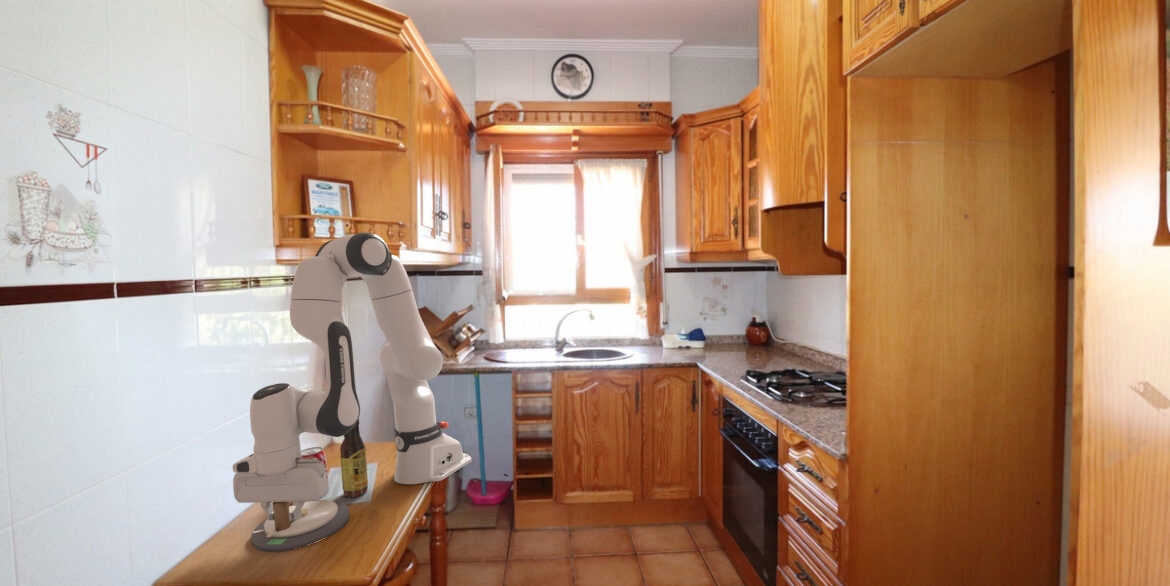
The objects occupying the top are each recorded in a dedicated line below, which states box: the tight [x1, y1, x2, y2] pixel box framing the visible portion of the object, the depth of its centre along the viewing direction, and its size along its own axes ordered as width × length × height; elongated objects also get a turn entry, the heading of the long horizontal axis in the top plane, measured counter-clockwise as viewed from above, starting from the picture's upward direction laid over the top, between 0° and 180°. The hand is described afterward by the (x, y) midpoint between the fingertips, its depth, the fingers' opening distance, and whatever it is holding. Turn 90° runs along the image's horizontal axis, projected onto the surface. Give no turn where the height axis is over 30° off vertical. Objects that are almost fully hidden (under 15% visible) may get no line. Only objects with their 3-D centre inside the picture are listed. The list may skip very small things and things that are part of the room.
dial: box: [264, 499, 338, 538], centre depth 117 cm, size 17×15×7 cm
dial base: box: [251, 500, 351, 553], centre depth 119 cm, size 20×20×2 cm
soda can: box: [301, 446, 329, 483], centre depth 137 cm, size 7×7×12 cm
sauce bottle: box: [339, 418, 369, 498], centre depth 135 cm, size 6×6×20 cm
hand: (284, 519), depth 113 cm, fingers open, 4 cm apart
